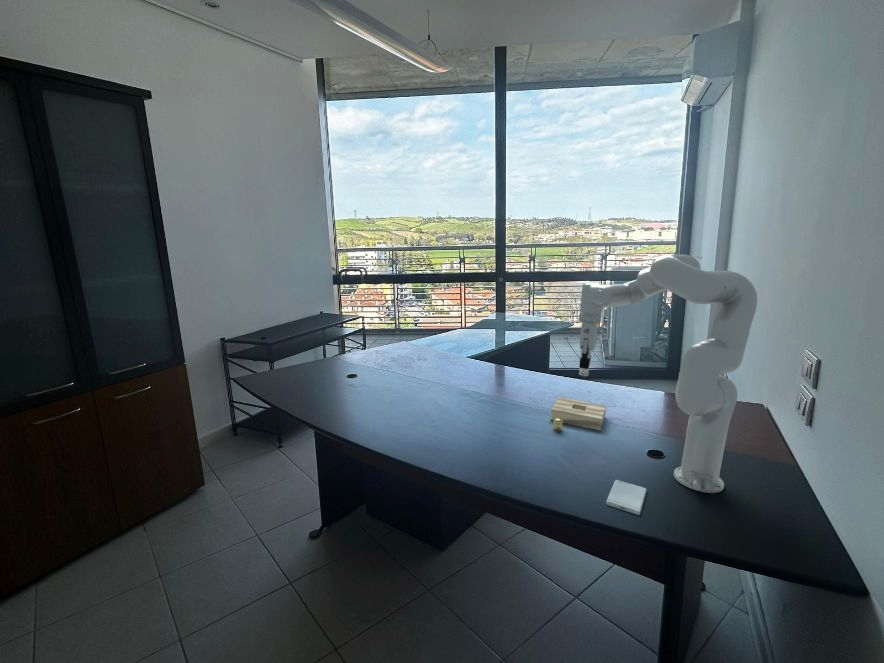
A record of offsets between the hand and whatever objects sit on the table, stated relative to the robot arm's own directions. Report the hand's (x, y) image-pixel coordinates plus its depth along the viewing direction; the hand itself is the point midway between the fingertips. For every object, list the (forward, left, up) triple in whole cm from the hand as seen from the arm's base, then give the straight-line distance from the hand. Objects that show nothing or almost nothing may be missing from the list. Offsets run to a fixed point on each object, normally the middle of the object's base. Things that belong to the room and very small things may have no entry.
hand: (584, 366), depth 160 cm
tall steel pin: (0, 0, -3) cm, 3 cm away
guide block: (+3, +1, -22) cm, 22 cm away
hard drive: (-45, -19, -23) cm, 54 cm away
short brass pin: (-11, +6, -22) cm, 25 cm away
